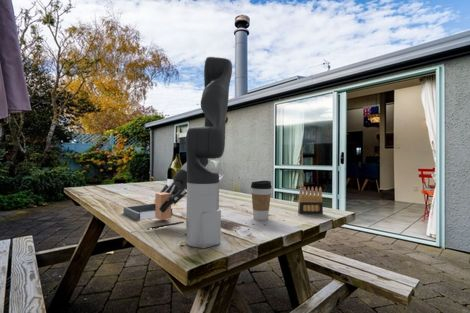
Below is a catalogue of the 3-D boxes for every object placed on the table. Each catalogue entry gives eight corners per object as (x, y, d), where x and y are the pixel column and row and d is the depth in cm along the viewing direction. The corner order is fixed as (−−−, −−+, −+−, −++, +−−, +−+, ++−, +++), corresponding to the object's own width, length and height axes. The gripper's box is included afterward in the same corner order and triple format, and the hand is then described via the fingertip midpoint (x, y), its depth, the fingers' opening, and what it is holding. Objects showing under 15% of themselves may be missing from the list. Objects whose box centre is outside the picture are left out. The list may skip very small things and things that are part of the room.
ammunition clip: (299, 214, 109) (299, 186, 109) (297, 213, 111) (298, 186, 111) (322, 213, 110) (323, 186, 110) (321, 212, 112) (321, 186, 112)
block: (171, 218, 91) (171, 193, 91) (160, 220, 88) (160, 194, 88) (165, 215, 94) (165, 192, 94) (155, 217, 91) (155, 193, 91)
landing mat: (183, 223, 92) (183, 221, 92) (152, 229, 84) (152, 227, 84) (171, 218, 98) (171, 217, 98) (141, 223, 90) (141, 222, 90)
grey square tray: (172, 217, 100) (172, 208, 100) (137, 223, 91) (137, 213, 91) (156, 210, 111) (156, 203, 111) (123, 215, 102) (123, 207, 102)
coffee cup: (275, 220, 98) (275, 181, 98) (256, 221, 95) (256, 182, 95) (265, 215, 106) (265, 180, 106) (246, 216, 103) (247, 180, 103)
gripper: (172, 167, 101) (142, 200, 93) (191, 169, 91) (160, 206, 83) (183, 179, 105) (156, 212, 97) (203, 182, 94) (174, 219, 86)
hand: (158, 209), depth 90 cm, fingers closed on block, 4 cm apart
